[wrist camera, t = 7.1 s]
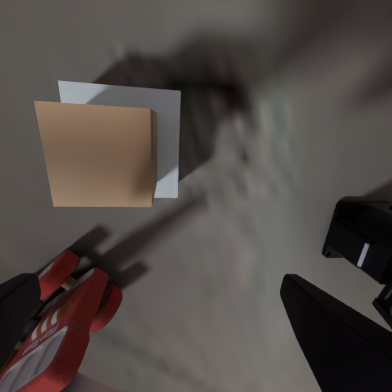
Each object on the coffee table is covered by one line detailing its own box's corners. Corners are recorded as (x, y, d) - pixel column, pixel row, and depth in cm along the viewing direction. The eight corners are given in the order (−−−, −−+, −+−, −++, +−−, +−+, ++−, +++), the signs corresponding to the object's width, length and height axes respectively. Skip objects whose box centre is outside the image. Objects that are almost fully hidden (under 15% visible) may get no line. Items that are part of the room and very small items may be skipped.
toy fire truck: (-5, 303, 20) (-164, 467, 11) (86, 231, 19) (-2, 345, 9) (53, 338, 23) (-35, 499, 13) (138, 276, 21) (111, 406, 12)
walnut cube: (157, 182, 14) (151, 206, 10) (89, 180, 14) (53, 206, 10) (156, 113, 13) (150, 108, 9) (80, 108, 12) (34, 100, 8)
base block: (178, 98, 16) (180, 90, 13) (176, 182, 19) (177, 197, 15) (85, 90, 16) (58, 80, 12) (94, 180, 18) (74, 196, 14)
